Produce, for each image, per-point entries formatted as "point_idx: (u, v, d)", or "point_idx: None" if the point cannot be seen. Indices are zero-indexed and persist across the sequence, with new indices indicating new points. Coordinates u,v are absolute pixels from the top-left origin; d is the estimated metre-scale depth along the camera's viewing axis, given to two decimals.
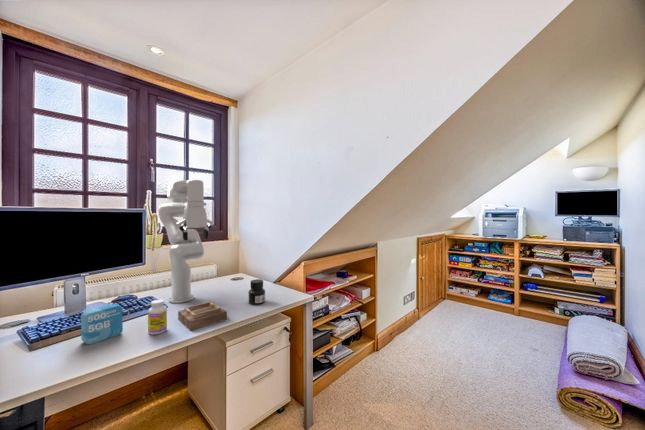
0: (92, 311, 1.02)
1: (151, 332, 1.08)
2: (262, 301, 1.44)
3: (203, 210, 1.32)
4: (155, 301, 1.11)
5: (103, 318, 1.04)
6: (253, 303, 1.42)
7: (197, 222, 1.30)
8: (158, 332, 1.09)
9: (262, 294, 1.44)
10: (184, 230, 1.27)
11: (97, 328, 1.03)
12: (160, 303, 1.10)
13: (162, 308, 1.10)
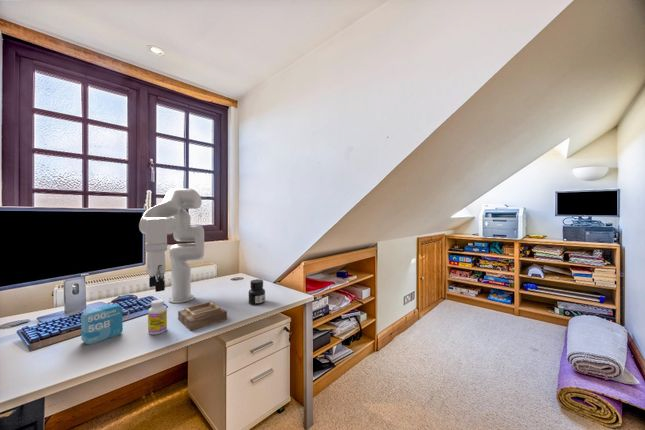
0: (92, 311, 1.02)
1: (151, 332, 1.08)
2: (262, 301, 1.44)
3: None
4: (155, 301, 1.11)
5: (103, 318, 1.04)
6: (253, 303, 1.42)
7: None
8: (158, 332, 1.09)
9: (262, 294, 1.44)
10: None
11: (97, 328, 1.03)
12: (160, 303, 1.10)
13: (162, 308, 1.10)
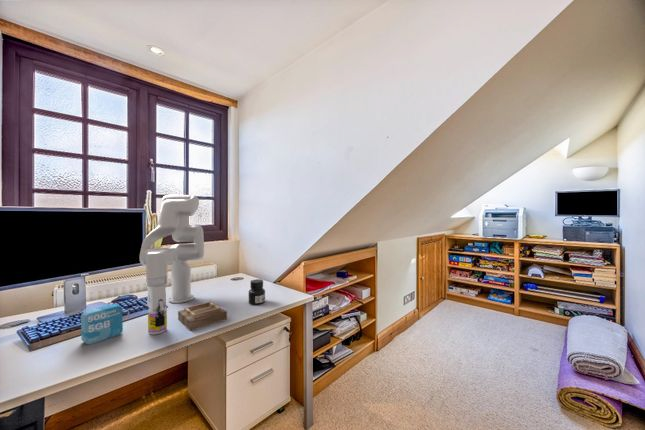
0: (92, 311, 1.02)
1: (151, 332, 1.08)
2: (262, 301, 1.44)
3: None
4: None
5: (103, 318, 1.04)
6: (253, 303, 1.42)
7: None
8: (158, 332, 1.09)
9: (262, 294, 1.44)
10: (163, 314, 1.09)
11: (97, 328, 1.03)
12: None
13: None
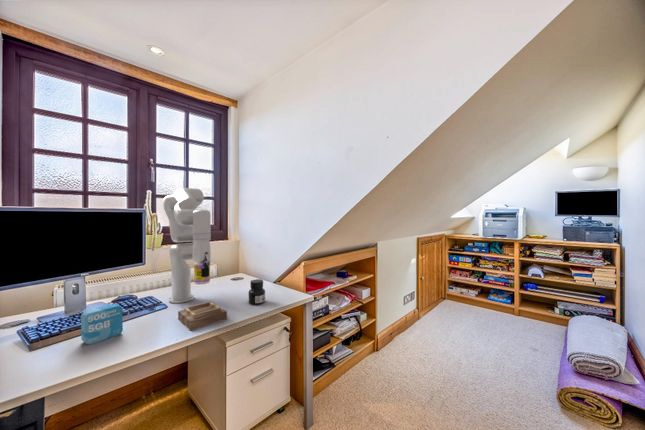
0: (92, 311, 1.02)
1: (197, 282, 1.20)
2: (262, 301, 1.44)
3: None
4: None
5: (103, 318, 1.04)
6: (253, 303, 1.42)
7: None
8: (203, 282, 1.21)
9: (262, 294, 1.44)
10: (208, 265, 1.20)
11: (97, 328, 1.03)
12: None
13: None
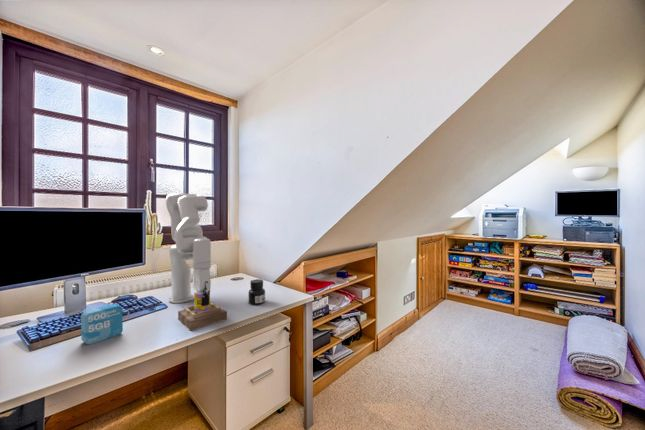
0: (92, 311, 1.02)
1: (197, 311, 1.20)
2: (262, 301, 1.44)
3: None
4: None
5: (103, 318, 1.04)
6: (253, 303, 1.42)
7: None
8: (203, 311, 1.21)
9: (262, 294, 1.44)
10: (208, 294, 1.21)
11: (97, 328, 1.03)
12: None
13: None
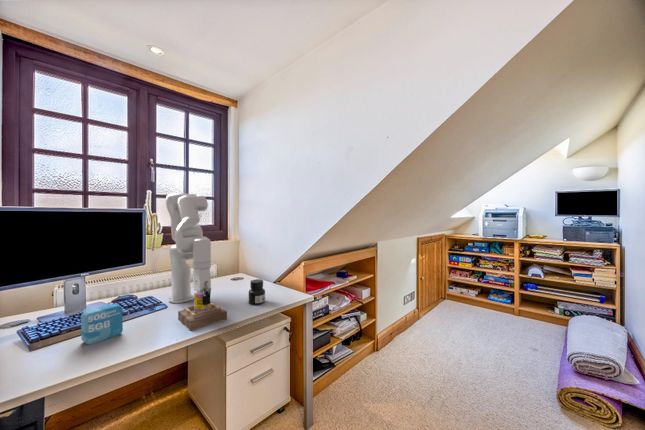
0: (92, 311, 1.02)
1: (197, 311, 1.20)
2: (262, 301, 1.44)
3: None
4: None
5: (103, 318, 1.04)
6: (253, 303, 1.42)
7: None
8: (203, 311, 1.21)
9: (262, 294, 1.44)
10: None
11: (97, 328, 1.03)
12: None
13: None
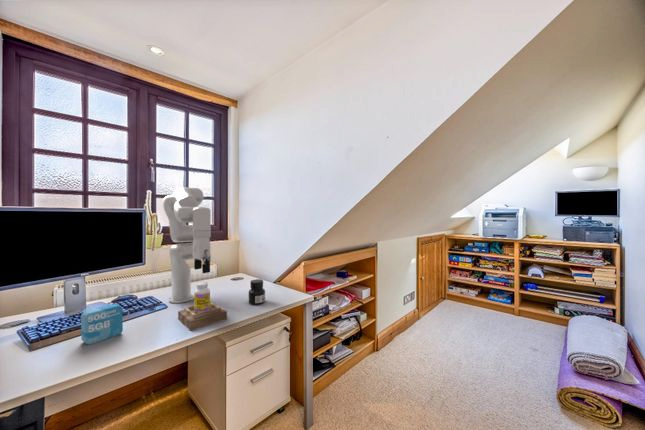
0: (92, 311, 1.02)
1: (197, 311, 1.20)
2: (262, 301, 1.44)
3: None
4: (200, 283, 1.23)
5: (103, 318, 1.04)
6: (253, 303, 1.42)
7: None
8: (203, 311, 1.21)
9: (262, 294, 1.44)
10: None
11: (97, 328, 1.03)
12: (205, 285, 1.22)
13: (207, 290, 1.23)
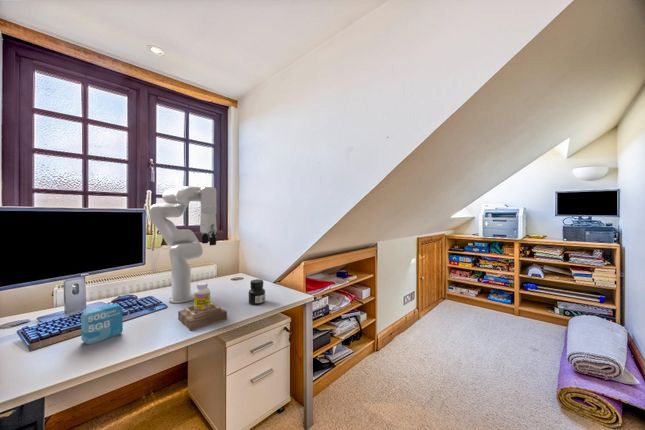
0: (92, 311, 1.02)
1: (197, 311, 1.20)
2: (262, 301, 1.44)
3: None
4: (200, 283, 1.23)
5: (103, 318, 1.04)
6: (253, 303, 1.42)
7: None
8: (203, 311, 1.21)
9: (262, 294, 1.44)
10: (215, 235, 1.33)
11: (97, 328, 1.03)
12: (205, 285, 1.22)
13: (207, 290, 1.23)
